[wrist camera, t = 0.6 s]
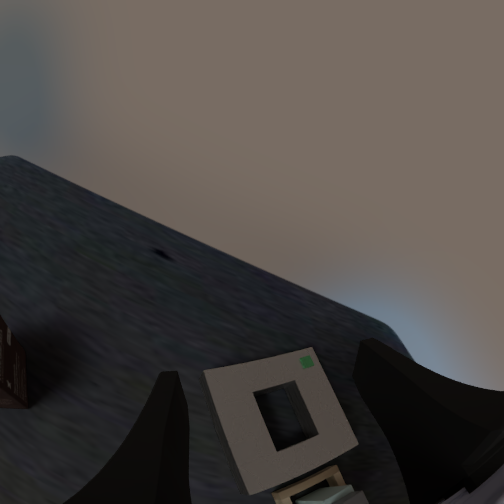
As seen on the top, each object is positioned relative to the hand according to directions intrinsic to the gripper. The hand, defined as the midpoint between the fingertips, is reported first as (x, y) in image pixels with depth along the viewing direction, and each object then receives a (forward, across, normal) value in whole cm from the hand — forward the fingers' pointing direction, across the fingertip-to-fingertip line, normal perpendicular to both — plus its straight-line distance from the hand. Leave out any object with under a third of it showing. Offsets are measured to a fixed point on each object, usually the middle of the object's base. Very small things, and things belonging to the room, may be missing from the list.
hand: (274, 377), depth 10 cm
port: (+9, -2, +16) cm, 18 cm away
